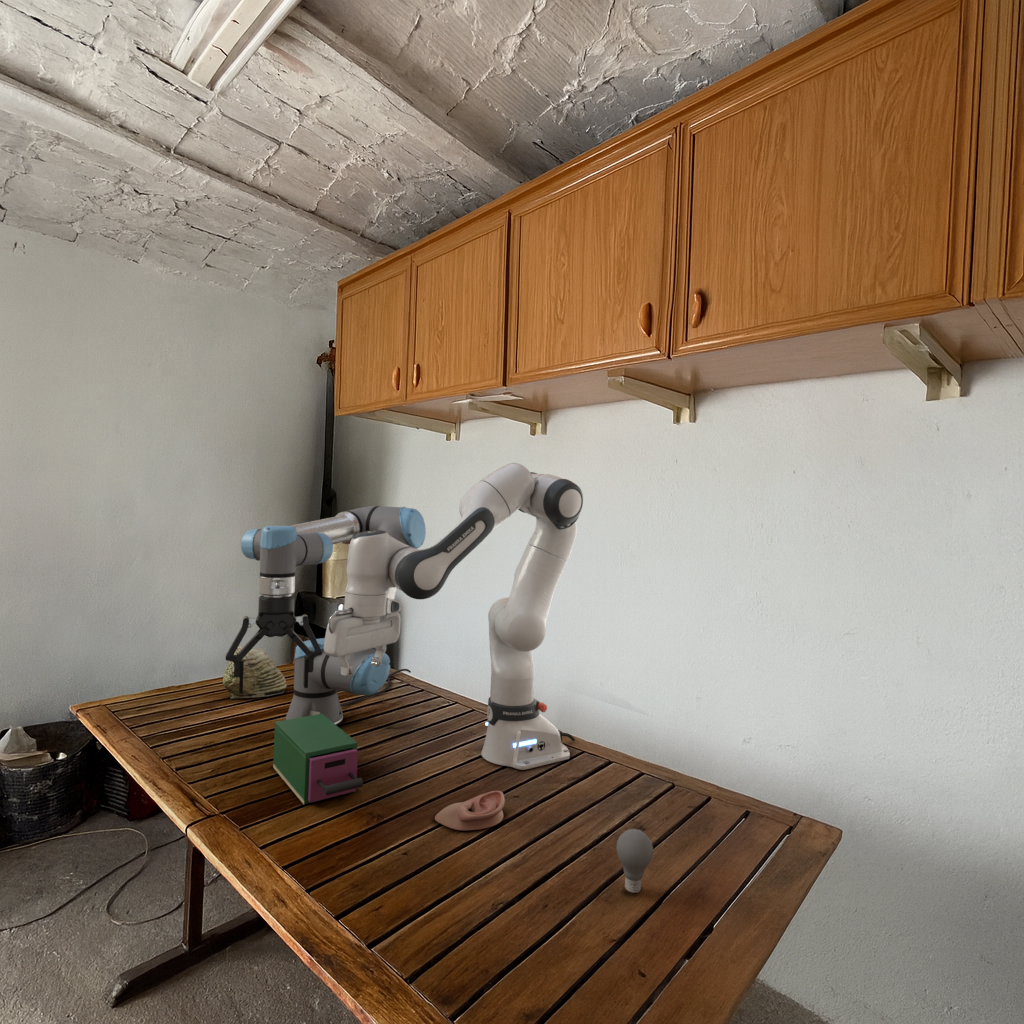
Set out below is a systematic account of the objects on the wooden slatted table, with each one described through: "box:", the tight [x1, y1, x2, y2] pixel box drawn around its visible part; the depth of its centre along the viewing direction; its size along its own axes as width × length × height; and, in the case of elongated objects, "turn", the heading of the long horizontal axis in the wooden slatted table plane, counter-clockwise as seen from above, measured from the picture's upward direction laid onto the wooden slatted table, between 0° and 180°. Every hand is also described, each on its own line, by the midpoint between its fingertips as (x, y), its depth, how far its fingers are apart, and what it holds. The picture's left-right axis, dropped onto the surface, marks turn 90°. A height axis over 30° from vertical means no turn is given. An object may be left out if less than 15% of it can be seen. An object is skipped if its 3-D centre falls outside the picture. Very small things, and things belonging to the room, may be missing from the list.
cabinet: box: [272, 714, 358, 805], centre depth 142 cm, size 21×11×11 cm, turn 37°
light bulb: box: [615, 828, 654, 894], centre depth 106 cm, size 6×6×10 cm
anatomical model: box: [434, 790, 506, 831], centre depth 128 cm, size 13×4×12 cm
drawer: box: [308, 748, 364, 803], centre depth 138 cm, size 26×10×9 cm, turn 37°
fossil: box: [222, 646, 288, 699], centre depth 198 cm, size 9×18×15 cm, turn 132°
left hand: (273, 688), depth 142 cm, fingers open, 13 cm apart
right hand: (361, 670), depth 136 cm, fingers open, 8 cm apart
